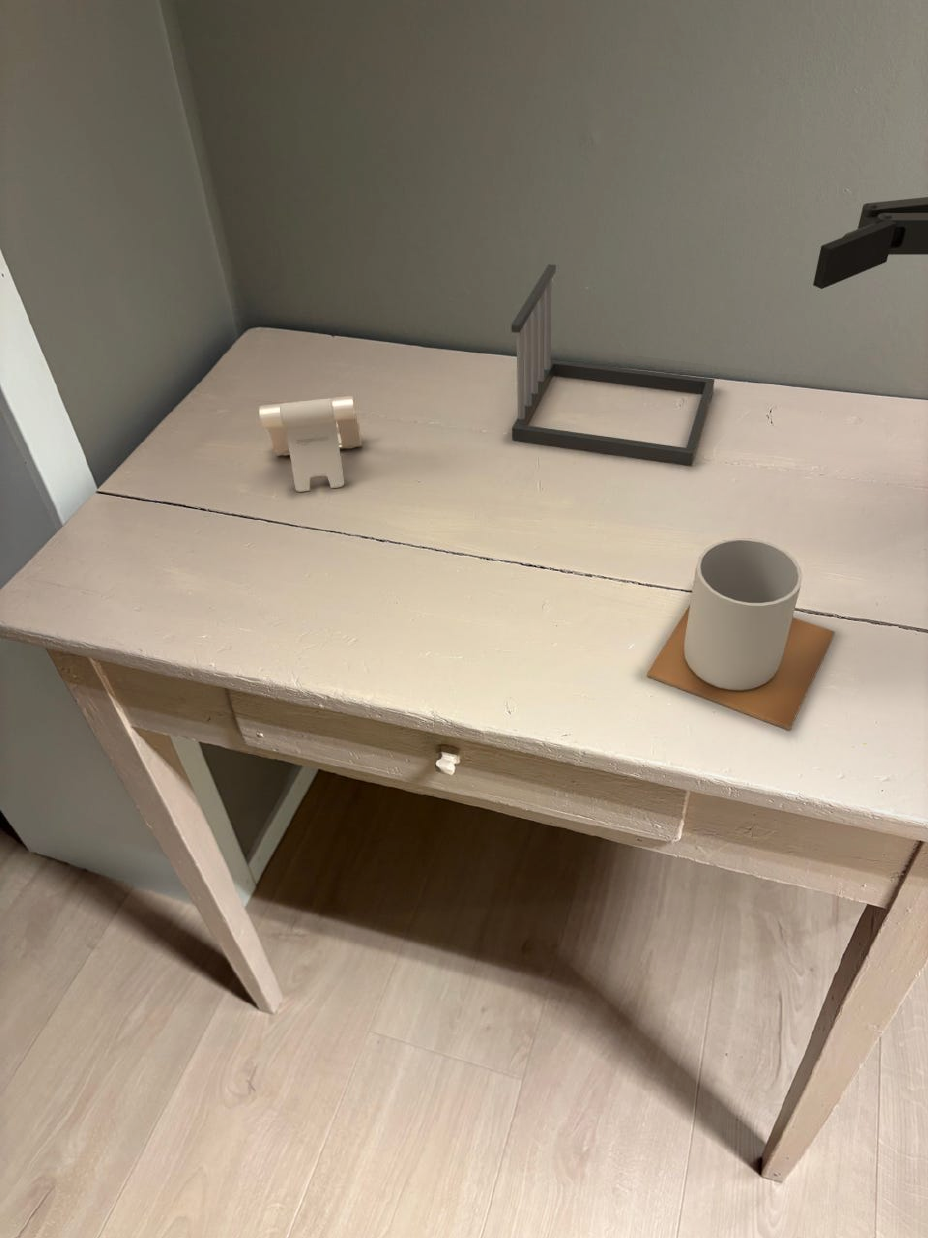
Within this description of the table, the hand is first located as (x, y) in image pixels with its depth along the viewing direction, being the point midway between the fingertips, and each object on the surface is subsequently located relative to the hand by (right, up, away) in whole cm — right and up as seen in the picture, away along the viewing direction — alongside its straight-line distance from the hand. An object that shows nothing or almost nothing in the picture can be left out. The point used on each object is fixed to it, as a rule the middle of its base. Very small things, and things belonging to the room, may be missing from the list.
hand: (907, 304), depth 59 cm
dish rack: (-12, +2, +40) cm, 42 cm away
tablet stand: (-42, -4, +36) cm, 55 cm away
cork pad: (-6, -22, +15) cm, 27 cm away
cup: (-6, -22, +15) cm, 27 cm away
